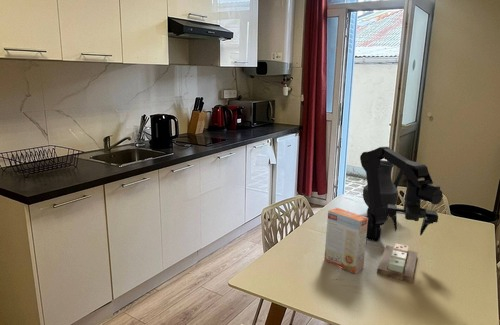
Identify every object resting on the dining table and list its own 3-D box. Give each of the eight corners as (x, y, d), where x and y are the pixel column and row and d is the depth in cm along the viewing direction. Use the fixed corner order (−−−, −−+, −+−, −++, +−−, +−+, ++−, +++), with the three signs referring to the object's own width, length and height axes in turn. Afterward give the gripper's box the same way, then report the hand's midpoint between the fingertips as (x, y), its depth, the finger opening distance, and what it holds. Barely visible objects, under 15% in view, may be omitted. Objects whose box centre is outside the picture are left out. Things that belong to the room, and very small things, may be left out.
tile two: (390, 261, 139) (391, 255, 139) (392, 256, 143) (393, 249, 143) (404, 264, 137) (405, 258, 136) (406, 259, 141) (406, 252, 141)
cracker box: (363, 269, 137) (369, 217, 132) (354, 274, 133) (360, 221, 128) (332, 255, 147) (336, 206, 142) (323, 259, 143) (327, 209, 138)
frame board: (376, 273, 134) (377, 268, 133) (385, 249, 153) (386, 245, 152) (412, 282, 128) (412, 277, 128) (416, 256, 147) (417, 252, 147)
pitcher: (355, 209, 198) (360, 156, 191) (388, 207, 203) (394, 155, 196) (372, 221, 182) (379, 163, 175) (408, 219, 187) (416, 162, 180)
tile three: (393, 253, 145) (393, 247, 145) (394, 249, 149) (395, 242, 149) (406, 257, 143) (407, 250, 142) (407, 251, 147) (408, 245, 147)
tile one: (388, 269, 133) (388, 262, 132) (389, 263, 137) (390, 257, 137) (402, 273, 131) (403, 266, 130) (404, 267, 135) (405, 260, 135)
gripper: (387, 198, 137) (382, 236, 141) (442, 206, 131) (436, 246, 134) (388, 190, 147) (383, 226, 151) (439, 197, 141) (432, 234, 145)
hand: (408, 233), depth 145 cm, fingers open, 9 cm apart
